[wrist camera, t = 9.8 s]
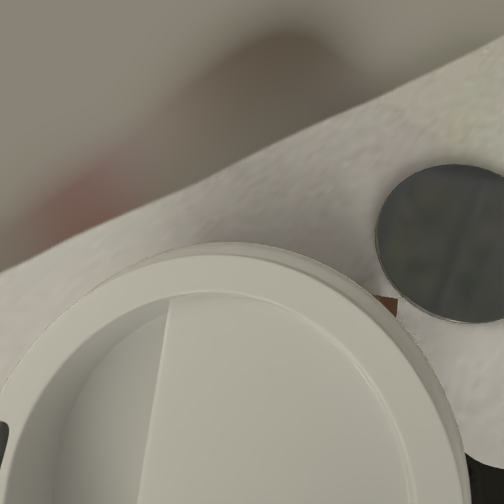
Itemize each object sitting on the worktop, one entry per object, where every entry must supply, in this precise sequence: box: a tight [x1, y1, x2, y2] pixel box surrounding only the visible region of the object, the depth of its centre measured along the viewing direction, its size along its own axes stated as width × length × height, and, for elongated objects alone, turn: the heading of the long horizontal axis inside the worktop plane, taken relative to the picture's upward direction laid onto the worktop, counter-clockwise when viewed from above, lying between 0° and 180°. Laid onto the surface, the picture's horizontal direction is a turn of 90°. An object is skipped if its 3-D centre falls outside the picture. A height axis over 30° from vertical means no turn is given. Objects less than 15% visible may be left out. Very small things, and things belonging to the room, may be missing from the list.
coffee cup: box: [0, 242, 471, 504], centre depth 13 cm, size 10×10×15 cm
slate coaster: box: [375, 164, 504, 324], centre depth 28 cm, size 12×12×1 cm
